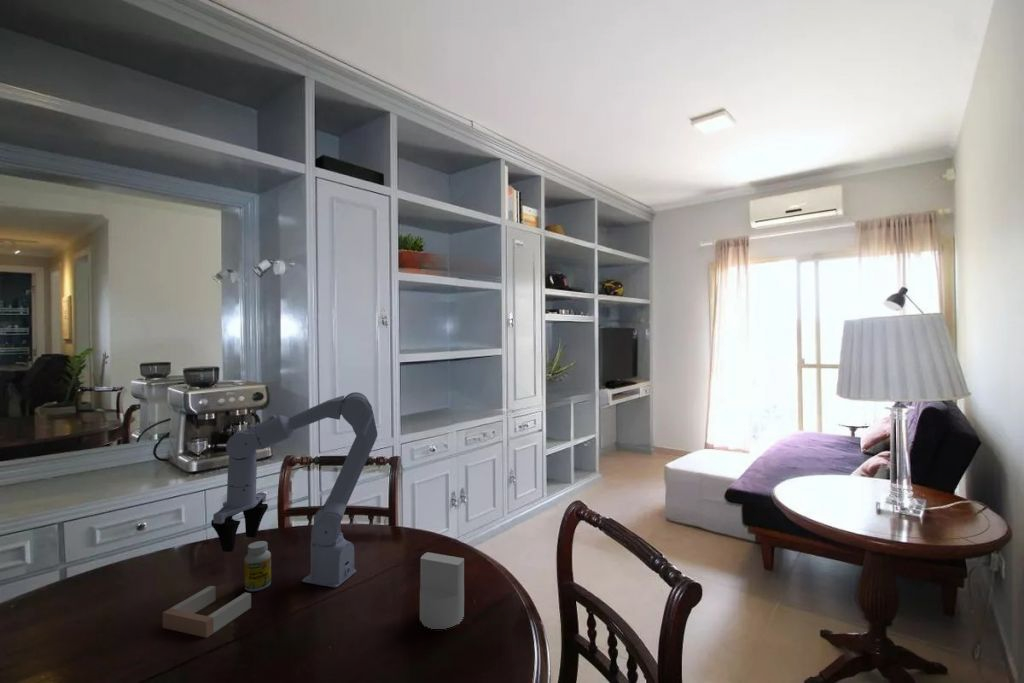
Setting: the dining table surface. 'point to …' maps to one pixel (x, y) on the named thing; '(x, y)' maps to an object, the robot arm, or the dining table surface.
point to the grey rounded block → (441, 590)
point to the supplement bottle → (257, 566)
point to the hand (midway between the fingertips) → (240, 543)
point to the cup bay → (201, 625)
